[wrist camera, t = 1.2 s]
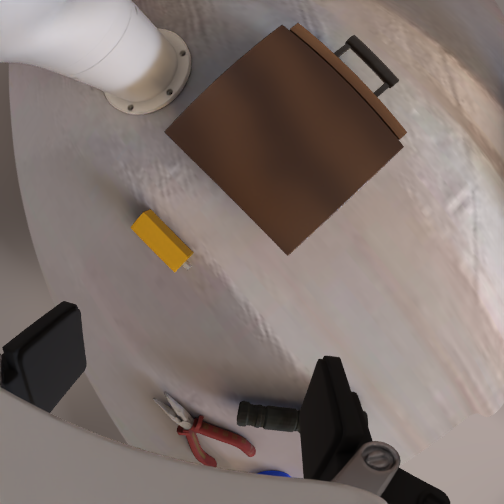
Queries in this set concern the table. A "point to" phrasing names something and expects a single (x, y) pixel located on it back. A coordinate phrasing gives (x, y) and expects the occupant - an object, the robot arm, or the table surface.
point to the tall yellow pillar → (162, 240)
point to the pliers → (202, 432)
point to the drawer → (352, 78)
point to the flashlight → (270, 417)
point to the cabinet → (284, 138)
